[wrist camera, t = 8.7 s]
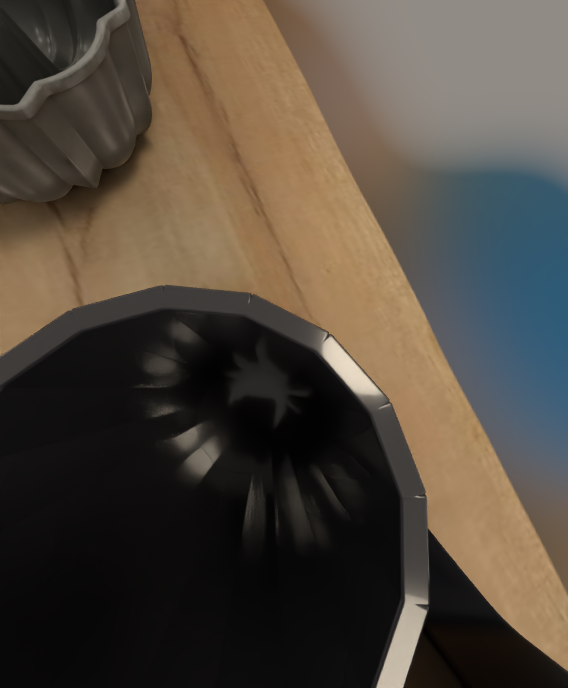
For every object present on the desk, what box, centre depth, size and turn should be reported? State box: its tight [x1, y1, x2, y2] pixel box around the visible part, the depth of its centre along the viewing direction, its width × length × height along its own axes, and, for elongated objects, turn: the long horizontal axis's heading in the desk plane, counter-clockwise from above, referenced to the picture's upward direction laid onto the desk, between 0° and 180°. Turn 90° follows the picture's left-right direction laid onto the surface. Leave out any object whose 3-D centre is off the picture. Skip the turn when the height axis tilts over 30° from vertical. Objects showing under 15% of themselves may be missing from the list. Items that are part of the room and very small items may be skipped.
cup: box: [0, 285, 430, 688], centre depth 9 cm, size 7×7×12 cm
